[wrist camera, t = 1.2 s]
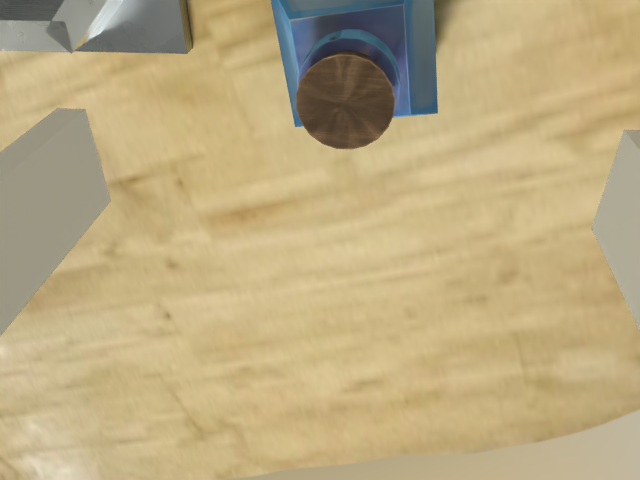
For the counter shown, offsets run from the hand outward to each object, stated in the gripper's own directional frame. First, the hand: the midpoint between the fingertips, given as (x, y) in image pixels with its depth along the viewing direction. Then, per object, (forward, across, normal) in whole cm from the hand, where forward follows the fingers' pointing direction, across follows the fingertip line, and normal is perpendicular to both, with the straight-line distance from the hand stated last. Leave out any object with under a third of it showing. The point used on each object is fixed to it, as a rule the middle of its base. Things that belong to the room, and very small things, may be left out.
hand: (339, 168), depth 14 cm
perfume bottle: (+16, 0, 0) cm, 17 cm away
